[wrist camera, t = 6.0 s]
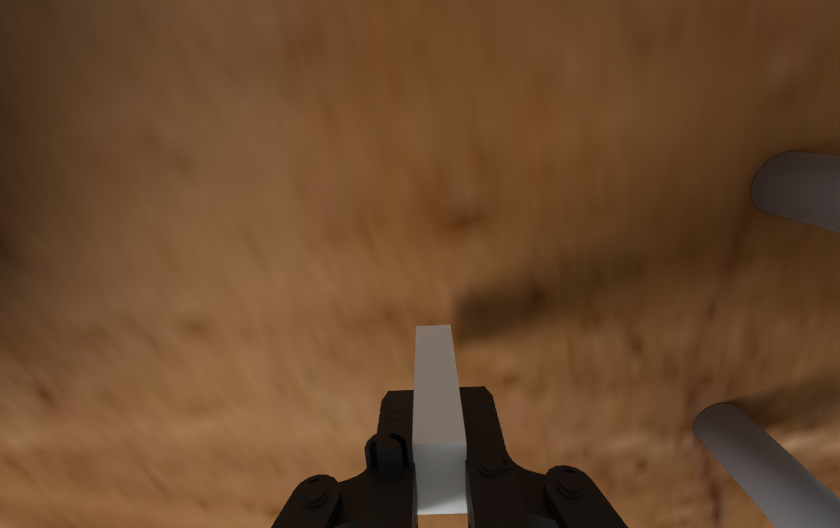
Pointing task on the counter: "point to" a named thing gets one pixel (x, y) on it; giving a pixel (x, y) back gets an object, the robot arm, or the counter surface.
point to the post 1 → (800, 188)
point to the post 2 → (766, 470)
